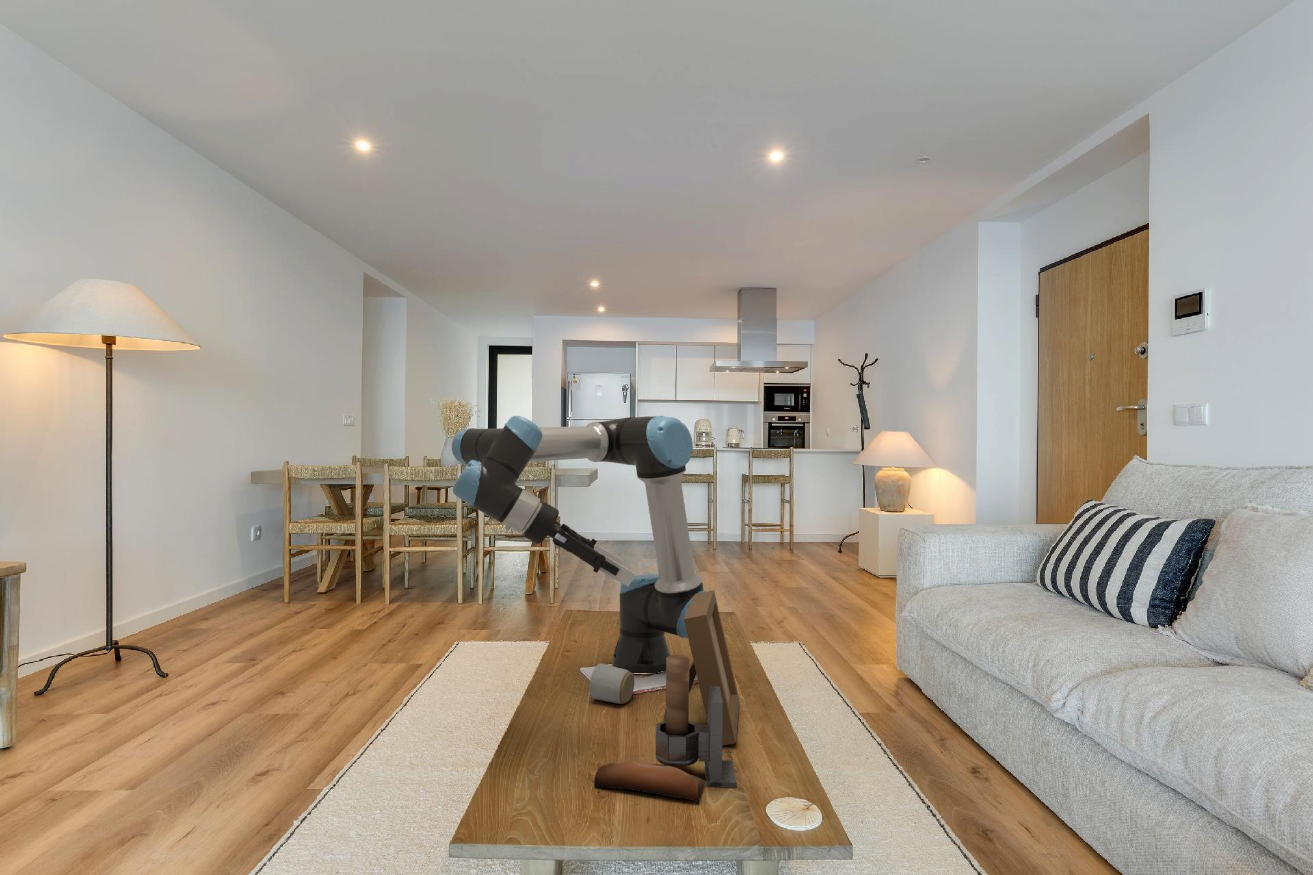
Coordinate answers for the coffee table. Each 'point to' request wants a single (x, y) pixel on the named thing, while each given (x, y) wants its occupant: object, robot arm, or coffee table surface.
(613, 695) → the ceramic mug
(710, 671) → the photo frame
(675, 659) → the brown wooden dowel
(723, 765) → the bracket
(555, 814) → the coffee table surface
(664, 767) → the sunglasses case
